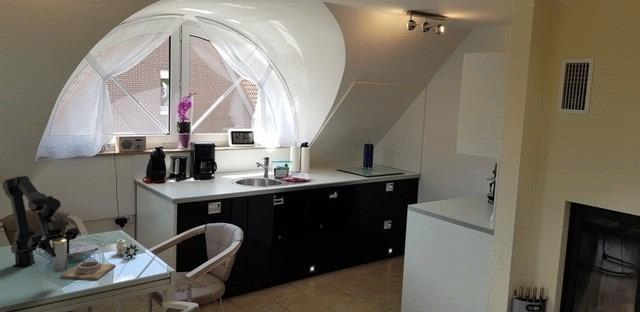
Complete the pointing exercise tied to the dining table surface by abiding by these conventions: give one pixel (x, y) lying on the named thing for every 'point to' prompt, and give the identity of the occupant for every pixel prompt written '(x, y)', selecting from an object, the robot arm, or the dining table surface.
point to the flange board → (88, 276)
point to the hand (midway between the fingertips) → (61, 255)
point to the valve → (125, 248)
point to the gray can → (59, 254)
